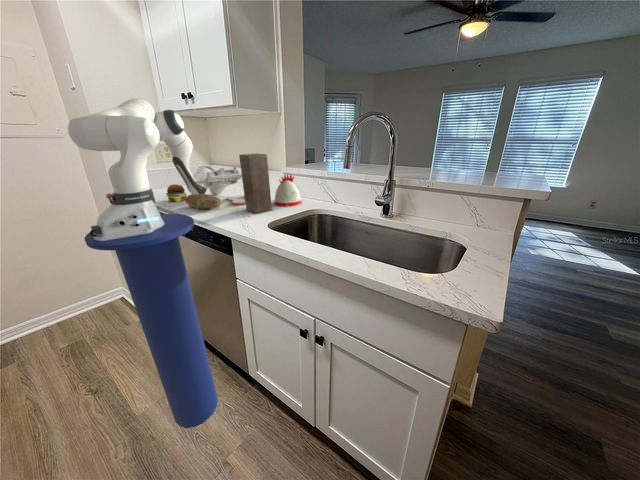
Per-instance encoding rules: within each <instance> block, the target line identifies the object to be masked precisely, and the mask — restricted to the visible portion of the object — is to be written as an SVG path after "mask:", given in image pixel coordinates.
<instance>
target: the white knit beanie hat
mask: <svg viewBox="0 0 640 480" xmlns="http://www.w3.org/2000/svg"><path fill="white" fill-rule="evenodd" d="M280 178H281V179H278V182H279V185H278V186H277V188H276V190H275V195H274V204H275V205H276V206H278V207H293V206H297V205H300V204H301V203H302V198H301V194H300V192H299V190H298V189H299V188H298V187H297V186H296V184H295V183H293V182H294V179H295V176H292V174H291V173H290V174H288V173H286V174H284V175H283V176H281V177H280Z"/></svg>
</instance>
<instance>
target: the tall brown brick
mask: <svg viewBox="0 0 640 480" xmlns="http://www.w3.org/2000/svg"><path fill="white" fill-rule="evenodd" d="M238 157H239V165H240V168H241V173H242V177H241V181H242V187H243V195H244V199H245V210H246V211H247V212H249V213H252V214H255V215H257V214H261V213H266V212H270V211H273V208H272V207H273V206H272V195H271V186H270V174H269V164H268V163H269V162H268V155H267V154H266V153H257V152H256V153H244V154H239V156H238Z"/></svg>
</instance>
